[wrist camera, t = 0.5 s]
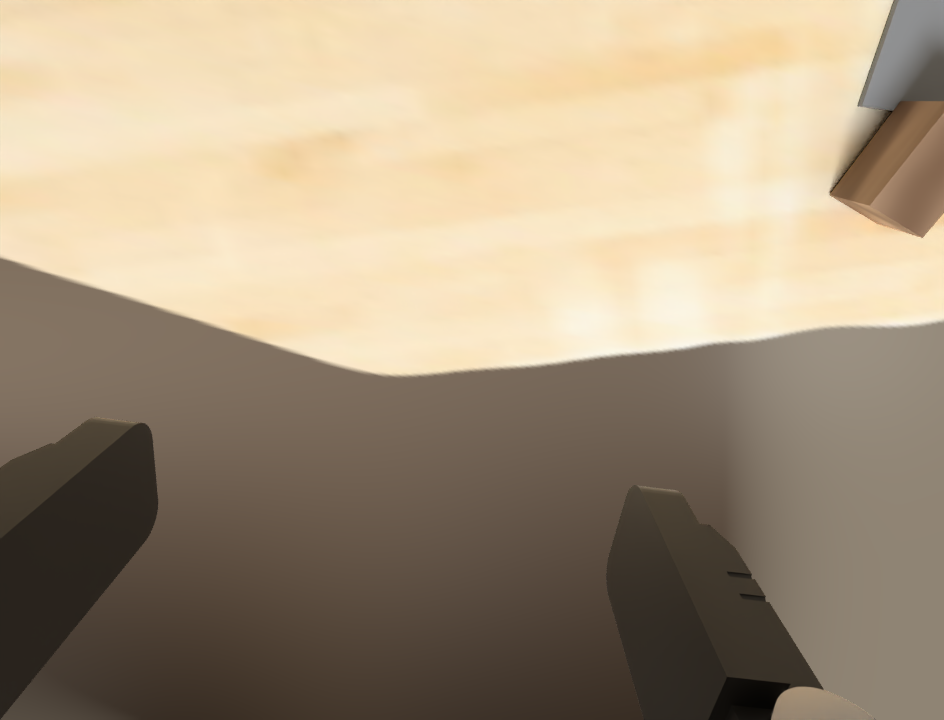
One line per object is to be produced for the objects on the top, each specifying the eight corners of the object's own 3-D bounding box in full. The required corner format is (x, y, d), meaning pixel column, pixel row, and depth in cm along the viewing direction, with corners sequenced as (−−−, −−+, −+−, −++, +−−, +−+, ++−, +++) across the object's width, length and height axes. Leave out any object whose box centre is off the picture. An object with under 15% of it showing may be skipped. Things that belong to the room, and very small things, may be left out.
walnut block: (829, 194, 35) (869, 205, 31) (900, 101, 33) (952, 101, 29) (877, 223, 36) (922, 237, 32) (950, 134, 33) (1007, 138, 30)
